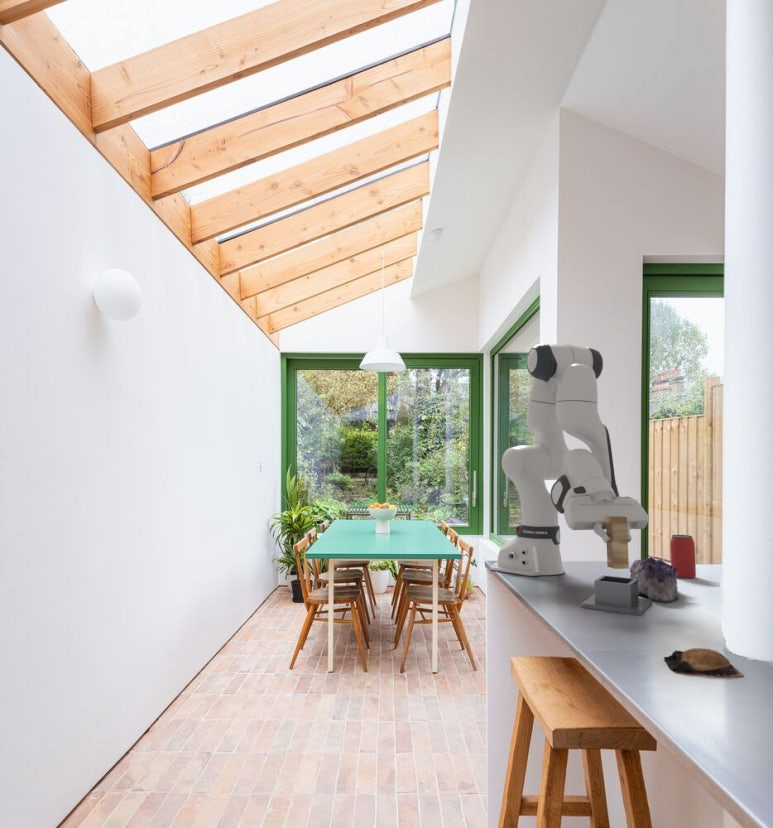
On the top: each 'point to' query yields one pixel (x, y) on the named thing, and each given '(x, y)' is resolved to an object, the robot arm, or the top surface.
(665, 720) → the top surface
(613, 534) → the wooden block
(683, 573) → the beer can
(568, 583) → the top surface
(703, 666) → the brown domed piece
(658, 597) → the geode
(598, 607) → the grey open box
